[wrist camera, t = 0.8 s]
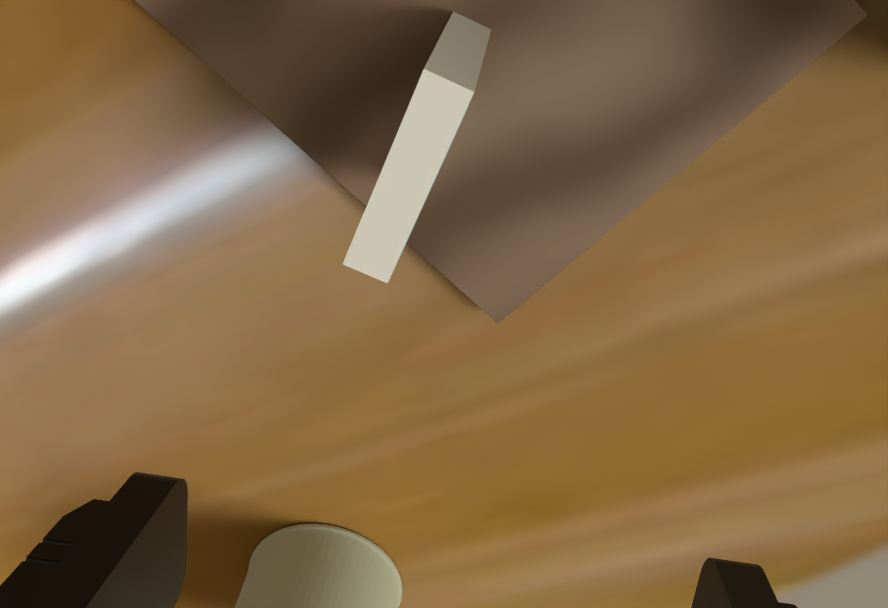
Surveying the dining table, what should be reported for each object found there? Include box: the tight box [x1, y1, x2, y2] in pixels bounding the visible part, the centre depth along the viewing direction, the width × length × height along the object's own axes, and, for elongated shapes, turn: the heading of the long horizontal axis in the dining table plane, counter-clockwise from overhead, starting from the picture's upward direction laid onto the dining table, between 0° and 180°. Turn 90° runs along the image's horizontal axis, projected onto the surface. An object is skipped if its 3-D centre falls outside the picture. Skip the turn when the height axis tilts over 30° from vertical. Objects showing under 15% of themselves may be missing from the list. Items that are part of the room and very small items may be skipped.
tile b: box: [343, 12, 491, 283], centre depth 30 cm, size 2×7×9 cm, turn 157°
